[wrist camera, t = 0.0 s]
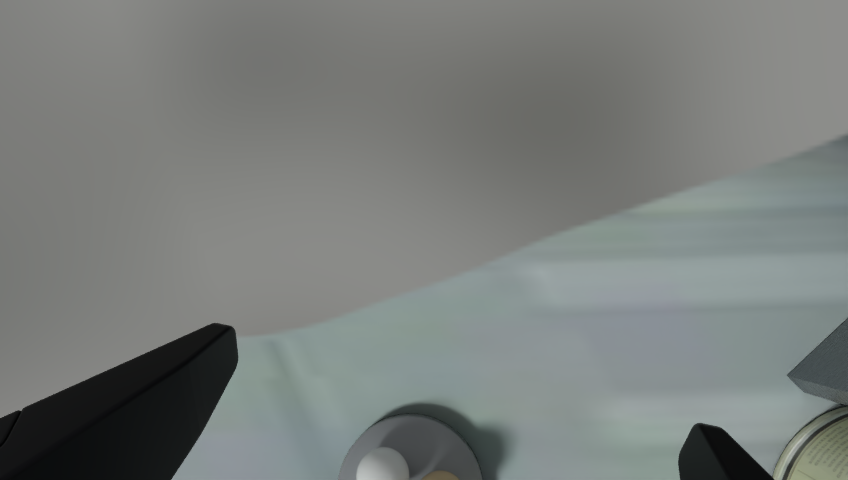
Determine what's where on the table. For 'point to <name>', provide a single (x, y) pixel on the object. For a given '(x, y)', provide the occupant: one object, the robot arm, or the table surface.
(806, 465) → the coffee can
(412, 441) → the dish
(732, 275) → the table surface
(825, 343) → the grey shallow tray
